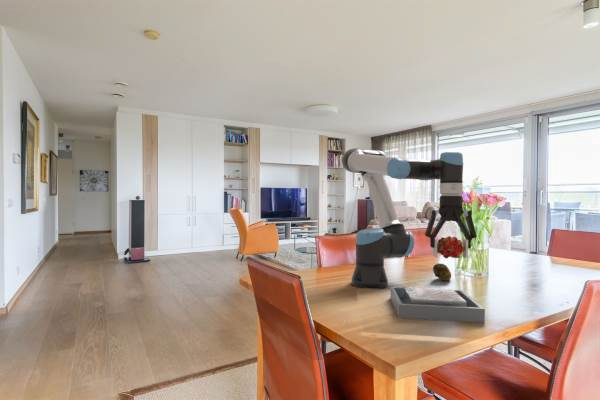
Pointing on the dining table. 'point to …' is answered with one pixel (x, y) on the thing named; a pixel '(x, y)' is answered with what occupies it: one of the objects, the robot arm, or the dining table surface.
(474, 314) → the tray
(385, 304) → the dining table surface
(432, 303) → the metal tin
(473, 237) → the robot arm
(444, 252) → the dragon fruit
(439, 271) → the avocado
